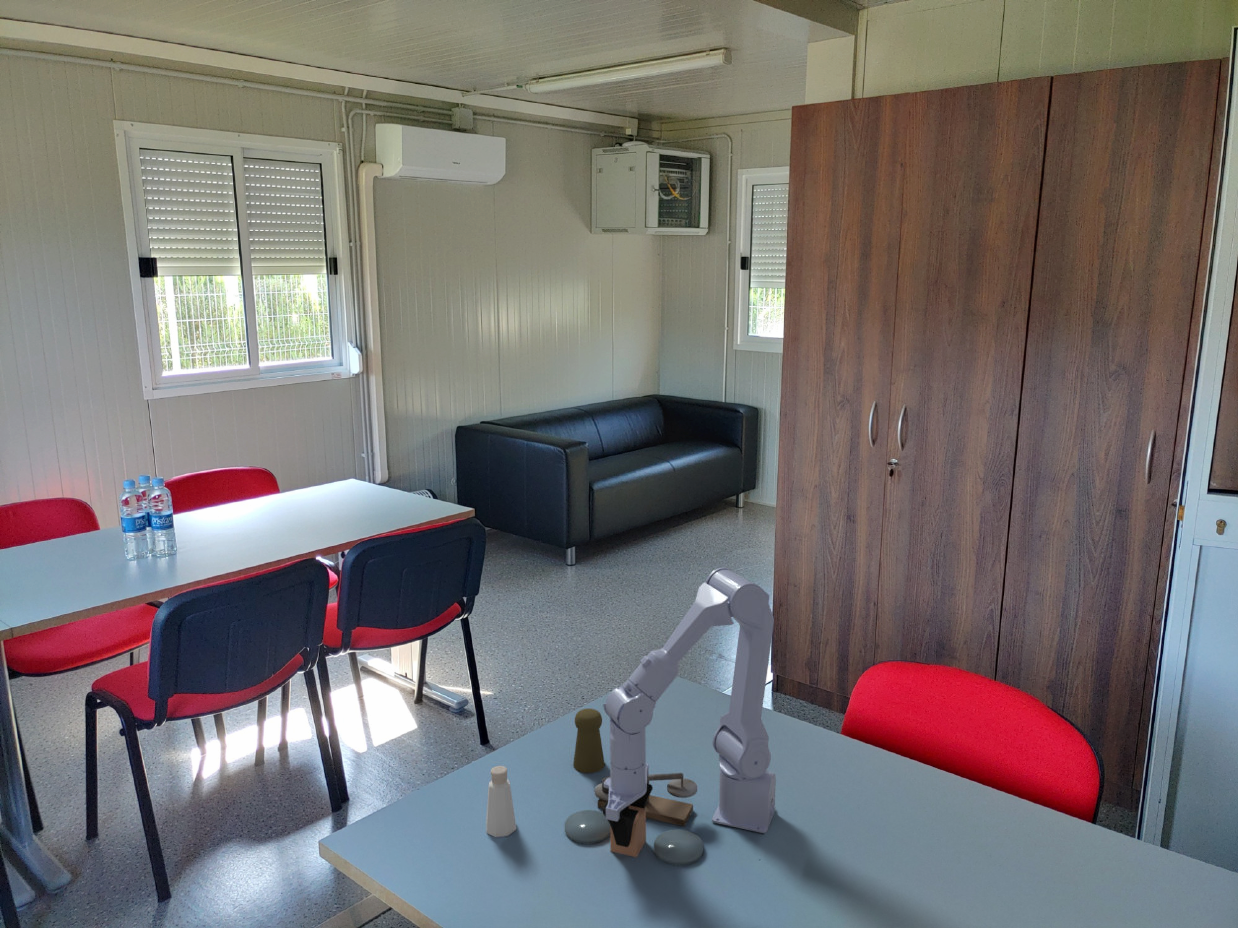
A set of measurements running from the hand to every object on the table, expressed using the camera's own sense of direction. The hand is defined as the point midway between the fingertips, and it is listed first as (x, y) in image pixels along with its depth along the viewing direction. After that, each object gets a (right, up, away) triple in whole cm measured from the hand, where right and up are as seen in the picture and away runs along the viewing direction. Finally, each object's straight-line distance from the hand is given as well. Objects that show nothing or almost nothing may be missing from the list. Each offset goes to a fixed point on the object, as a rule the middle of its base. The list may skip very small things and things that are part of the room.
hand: (628, 835), depth 152 cm
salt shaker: (-22, -1, +6) cm, 22 cm away
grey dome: (-7, -1, +5) cm, 8 cm away
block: (0, -2, 0) cm, 2 cm away
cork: (-7, +3, +25) cm, 26 cm away
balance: (+3, 0, +11) cm, 11 cm away
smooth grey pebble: (+8, -2, -1) cm, 8 cm away
